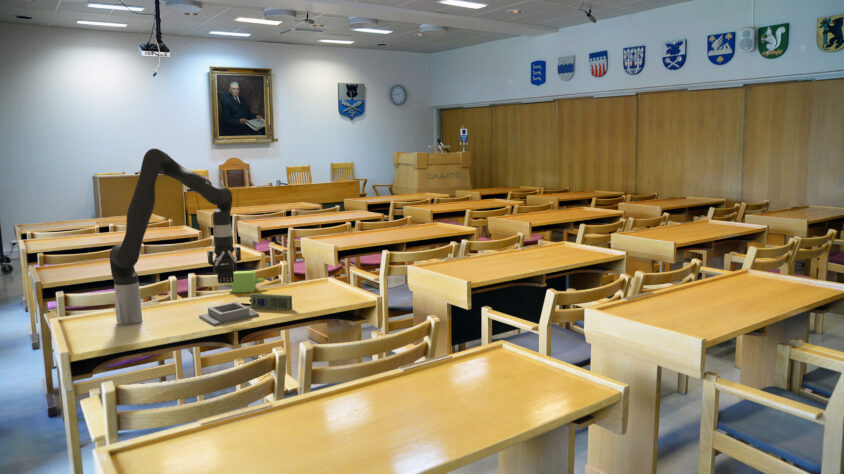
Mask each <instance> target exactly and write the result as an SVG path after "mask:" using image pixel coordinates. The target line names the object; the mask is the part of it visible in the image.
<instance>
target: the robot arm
mask: <svg viewBox="0 0 844 474" xmlns="http://www.w3.org/2000/svg"><path fill="white" fill-rule="evenodd" d="M159 174H161V175H164V176H167V177H169V178H172V179H174V180H177V181H178V182H179V183H181V184H182V185H183V186H185V187H187V188H188V189H190V190H191V191H192V192H193V191H194V192H195V193H198V195H200V196H202V198H203V199H204V200H206V201H207V202H208V203H210V204H212V205H215V206H216V209H215V210H214V211H213V213H212V219H213V221H212V222H213V228H212V230H213V243H214V249H213V250H207V251H206V253H207V254H206V255H207V262H208V264H209V265H211V266H212V269H213V273H214V274H215V275H217V274H219V272H218V266H217V265H218V263H219V261H220V260H221V259H223V258H225V257H231V258H232V259H233V267H234V272H237V270H238V262H240V261H241V260H242V251H241V250H242V249H241V247H240V246H233V245H234V241H233V228H232V221H231V219H232V218H231V211H232V206H233V194H232V191H231V190H230V189H229V188H228V187H225V186H221V187H215V186H214V185H213V182H212V181H210V179H208V178H206V177H204V176H203V175H200V174H198V173H196V172H195V171H192V170H190V169H188V168H186V167H185V166H182V165H180V163H178V162H177V161H175V159H174V158H172V157H171V156H170V155H169V154H168V153H166V152H165V151H162V149H159V148H150V149H148V150H146V152H145V154H144V156H143V158H142V162H141V167H140V171H139V176H138V180H137V182H136V186H135V189H134V191H133V194H132V198H131V200H130V202H129V205H128V207H127V208H128V209H127V211H126V229H125V235H124V238H123V240H122V243H121V244H120V243H119V244H117V245H115V246H113V247H112V248H111V249H110V252H109V267H110V271H111V272H110V273H111V276H112V279H113V283H114V293H115V301H114V308H115V316H116V318H115V319H116V323H117V322H118V323H119V324H118V323H117V324H118V325H119V326H121V325H122V326H132V325H136V324H139V323H141V322H143V314H142V313H143V312H142V304H141V293H140V284H139V275H138V274H137V272H136V270H135V265H136V264H137V263H138V261H139V259H140V255H141V249H142V245H143V240H144V237H145V234H146V232H147V228H148V226H149V223H150V220H151V217H152V216H153V215H152V214H153V212H154V210H155V205H156V182H157V179H158V176H159ZM233 252H235V255H234V254H233ZM214 255H215V257H214Z"/></svg>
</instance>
